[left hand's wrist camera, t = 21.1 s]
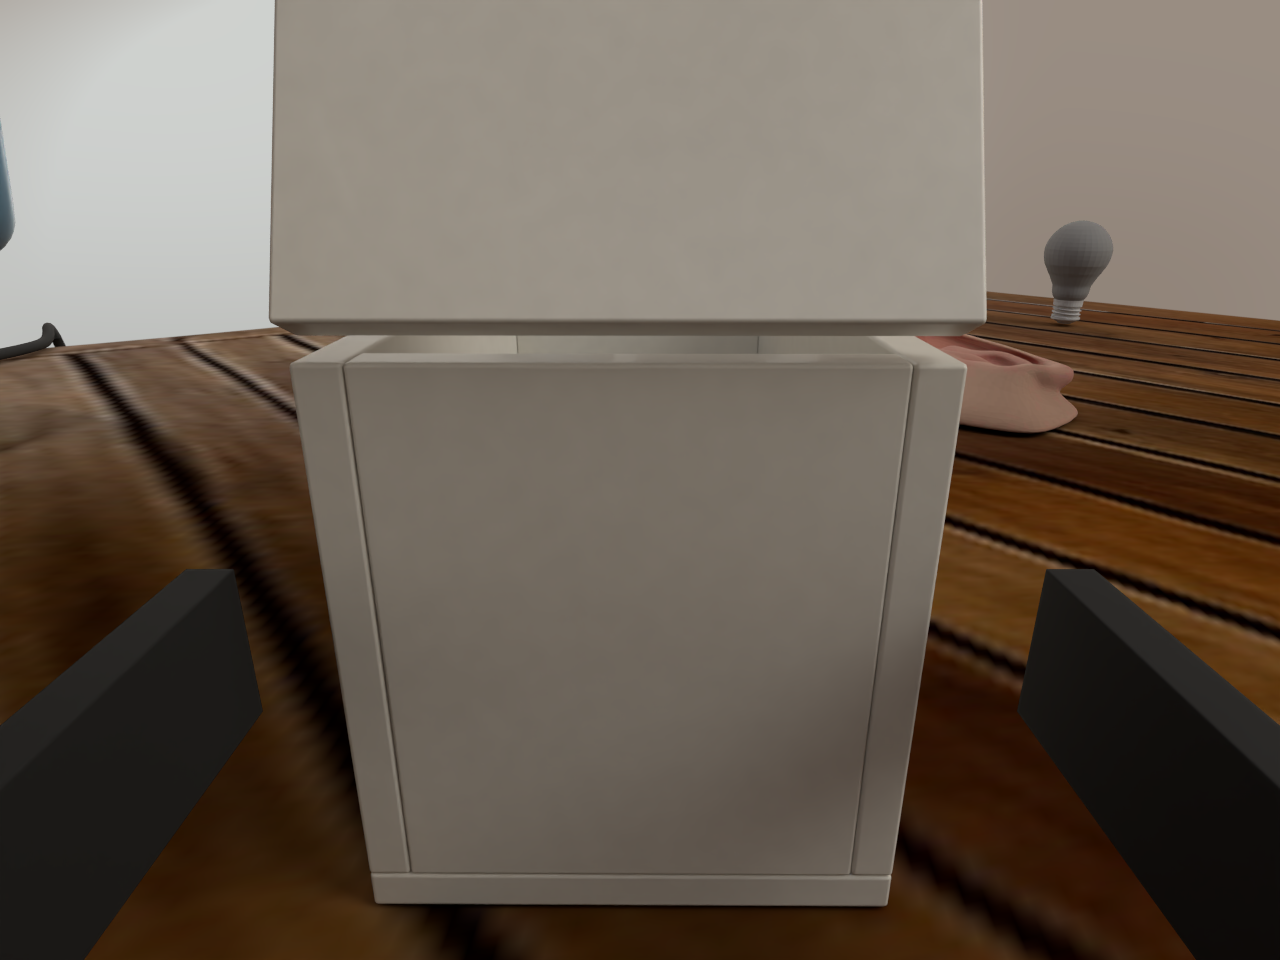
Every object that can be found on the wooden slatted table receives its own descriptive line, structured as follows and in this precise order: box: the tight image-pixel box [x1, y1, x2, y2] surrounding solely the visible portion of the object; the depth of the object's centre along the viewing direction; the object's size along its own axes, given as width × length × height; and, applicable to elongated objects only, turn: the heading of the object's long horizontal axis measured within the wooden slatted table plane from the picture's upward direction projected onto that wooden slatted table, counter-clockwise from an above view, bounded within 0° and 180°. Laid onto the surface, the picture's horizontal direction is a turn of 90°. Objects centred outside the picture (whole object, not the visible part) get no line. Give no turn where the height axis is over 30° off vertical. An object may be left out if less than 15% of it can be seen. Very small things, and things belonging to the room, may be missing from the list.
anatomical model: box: [915, 334, 1078, 433], centre depth 50 cm, size 13×4×12 cm
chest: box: [290, 335, 967, 906], centre depth 21 cm, size 17×10×11 cm, turn 0°
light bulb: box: [1044, 221, 1113, 324], centre depth 78 cm, size 6×6×10 cm
